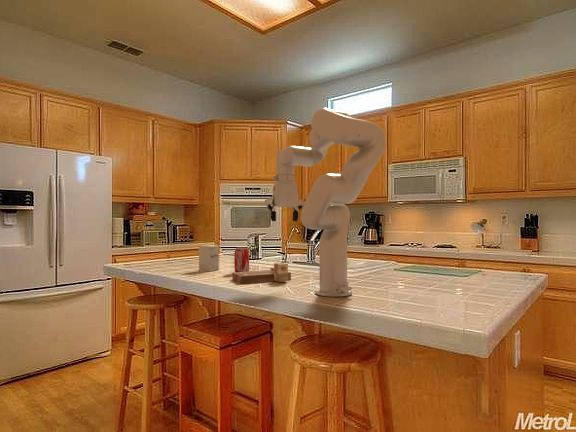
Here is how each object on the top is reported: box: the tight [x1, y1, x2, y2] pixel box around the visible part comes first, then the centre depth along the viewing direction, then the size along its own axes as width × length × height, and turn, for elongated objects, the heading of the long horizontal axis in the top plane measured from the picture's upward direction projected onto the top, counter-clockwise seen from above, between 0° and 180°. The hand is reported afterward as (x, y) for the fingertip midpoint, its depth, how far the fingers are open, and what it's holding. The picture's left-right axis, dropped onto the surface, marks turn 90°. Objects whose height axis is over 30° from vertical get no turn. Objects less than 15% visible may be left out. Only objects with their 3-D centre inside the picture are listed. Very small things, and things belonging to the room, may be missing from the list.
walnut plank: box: [231, 269, 292, 285], centre depth 158 cm, size 12×22×3 cm, turn 116°
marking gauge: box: [269, 262, 289, 283], centre depth 155 cm, size 14×4×7 cm, turn 26°
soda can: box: [233, 247, 250, 272], centre depth 178 cm, size 7×7×12 cm
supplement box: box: [198, 244, 220, 273], centre depth 187 cm, size 7×7×13 cm
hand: (284, 221), depth 152 cm, fingers open, 9 cm apart
